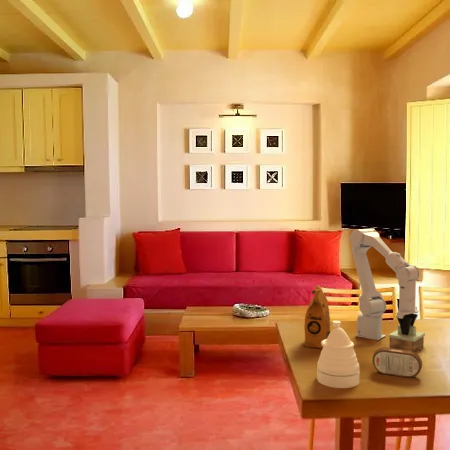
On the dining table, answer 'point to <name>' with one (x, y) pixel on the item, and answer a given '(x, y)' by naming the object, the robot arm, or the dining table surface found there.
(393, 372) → the tin
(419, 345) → the crate
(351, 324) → the dining table surface
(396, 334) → the lid
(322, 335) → the coffee package
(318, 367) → the honey pot
